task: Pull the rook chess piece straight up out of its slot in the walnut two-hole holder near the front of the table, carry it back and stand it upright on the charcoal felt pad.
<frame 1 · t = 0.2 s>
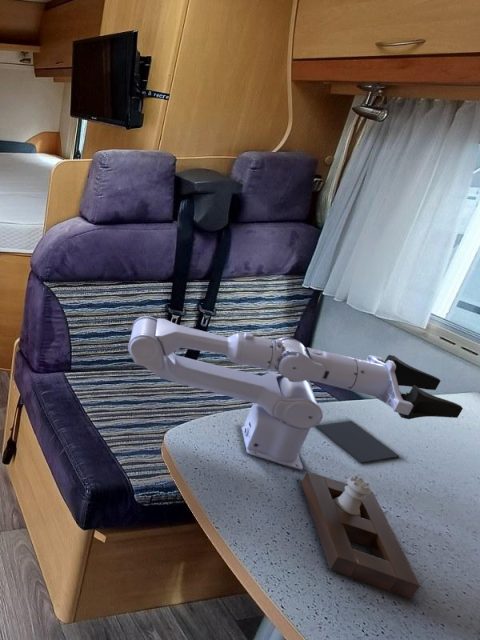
hand: (447, 397, 78), 21 cm above the table, tool horizontal, fingers open, 7 cm apart
holder: (349, 534, 76), on the table
pad: (355, 441, 97), on the table
rook chess piece: (341, 516, 79), resting in holder
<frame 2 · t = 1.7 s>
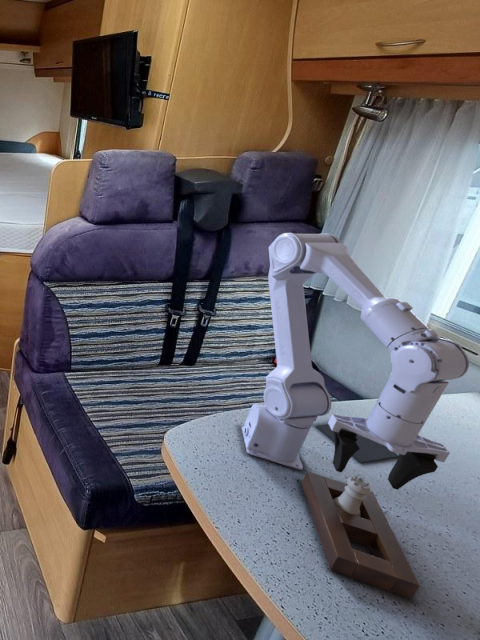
hand: (364, 475, 76), 9 cm above the table, tool pointing down, fingers open, 7 cm apart
nothing on the table moved.
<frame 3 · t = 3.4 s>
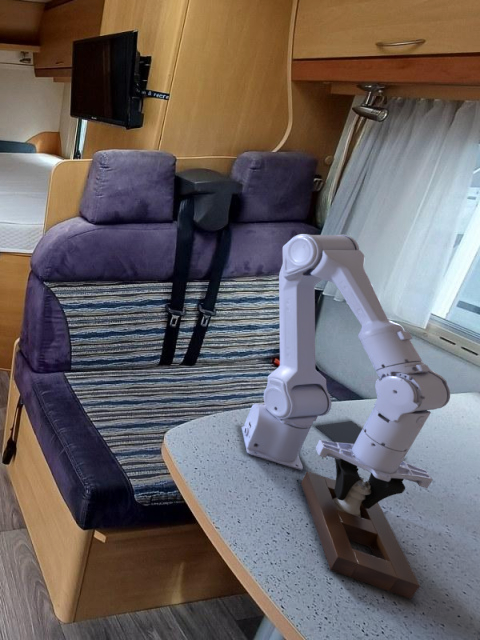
hand: (350, 499, 78), 4 cm above the table, tool pointing down, fingers closed on rook chess piece, 3 cm apart
rook chess piece: (341, 516, 79), resting in holder, touching gripper
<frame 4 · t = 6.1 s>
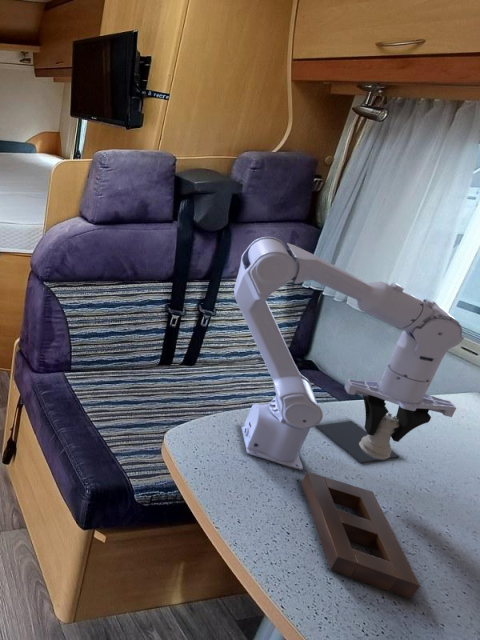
hand: (380, 434, 84), 10 cm above the table, tool pointing down, fingers closed on rook chess piece, 3 cm apart
rook chess piece: (373, 452, 85), point 6 cm above the table, touching gripper
when the fingers open (4 cm above the table, at t = 8.9 s): rook chess piece stays where it is, resting on pad.
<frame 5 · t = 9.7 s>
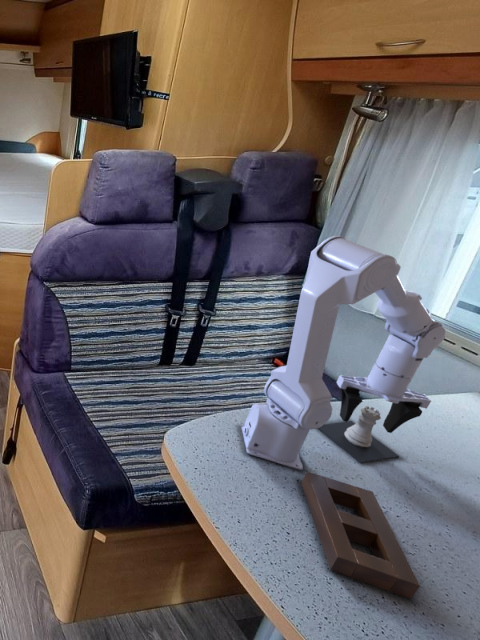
hand: (364, 423, 95), 5 cm above the table, tool pointing down, fingers open, 7 cm apart
rook chess piece: (356, 441, 96), resting on pad
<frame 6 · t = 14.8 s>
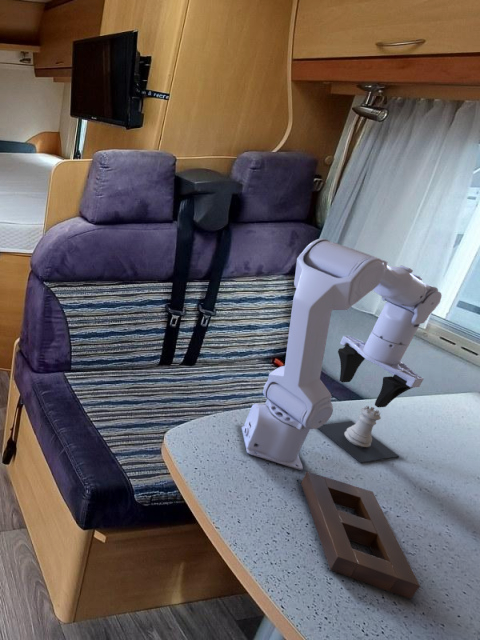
hand: (361, 393, 95), 10 cm above the table, tool pointing down, fingers open, 7 cm apart
nothing on the table moved.
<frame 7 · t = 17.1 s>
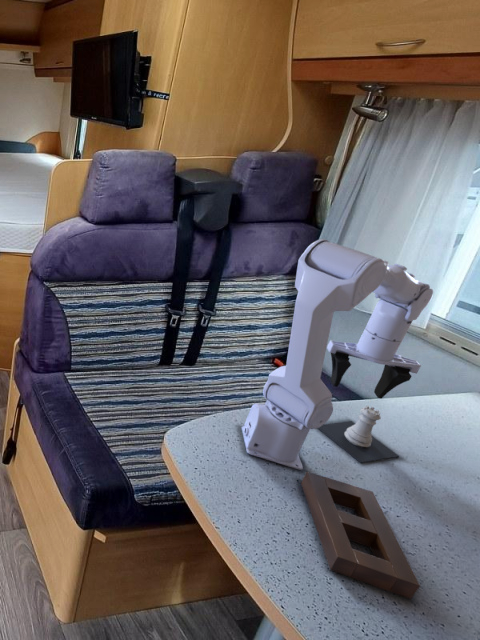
hand: (355, 389, 96), 10 cm above the table, tool pointing down, fingers open, 7 cm apart
nothing on the table moved.
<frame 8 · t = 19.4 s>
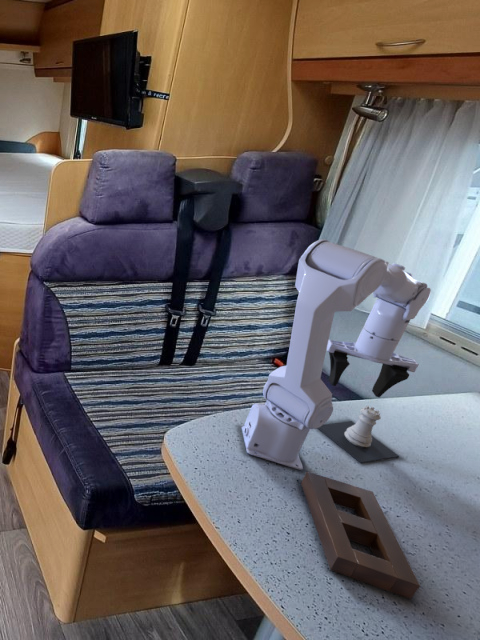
hand: (353, 388, 96), 10 cm above the table, tool pointing down, fingers open, 7 cm apart
nothing on the table moved.
at the end: rook chess piece inside the target area on the pad (0.1 cm from its centre), point 0.1 cm above the pad's base; rook chess piece tilted 0°; rook chess piece touching pad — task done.
